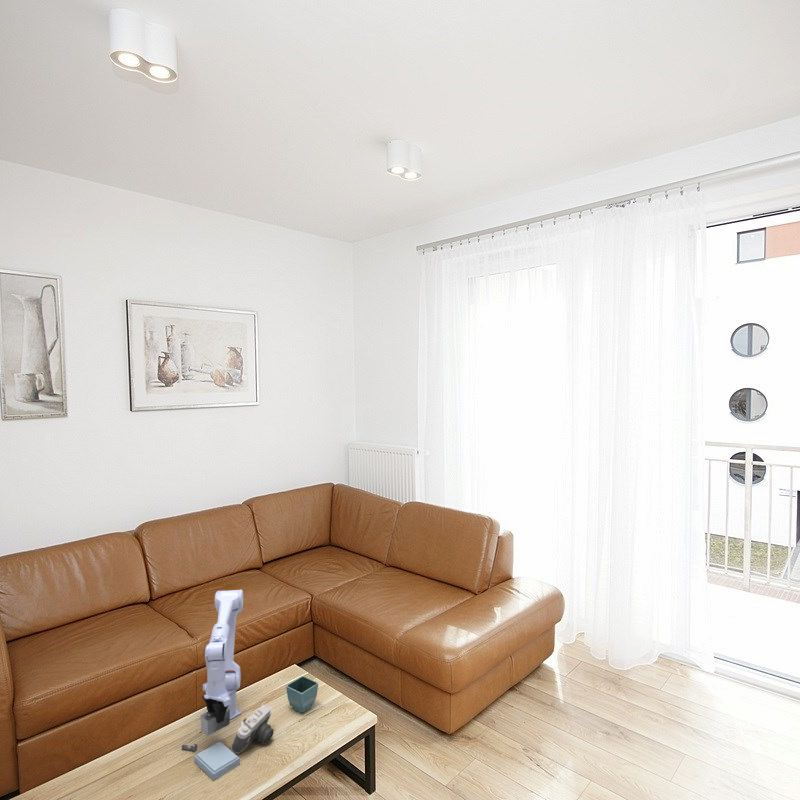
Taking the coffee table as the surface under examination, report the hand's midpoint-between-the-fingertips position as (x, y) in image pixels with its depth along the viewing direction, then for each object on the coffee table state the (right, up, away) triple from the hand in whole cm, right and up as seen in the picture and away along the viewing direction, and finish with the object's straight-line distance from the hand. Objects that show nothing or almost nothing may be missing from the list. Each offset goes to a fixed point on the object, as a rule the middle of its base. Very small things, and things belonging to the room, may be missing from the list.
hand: (216, 718), depth 171 cm
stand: (+3, -10, -7) cm, 13 cm away
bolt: (-9, -10, -1) cm, 13 cm away
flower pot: (+25, -9, +21) cm, 34 cm away
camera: (+13, -10, +3) cm, 16 cm away
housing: (0, -3, 0) cm, 3 cm away
